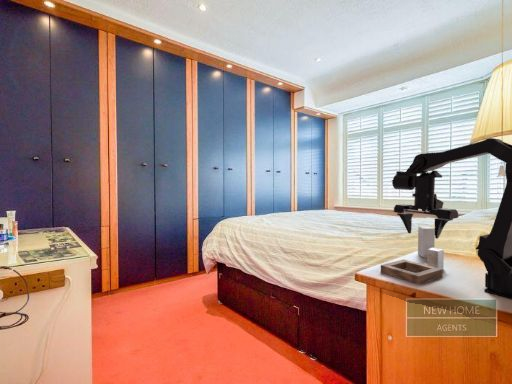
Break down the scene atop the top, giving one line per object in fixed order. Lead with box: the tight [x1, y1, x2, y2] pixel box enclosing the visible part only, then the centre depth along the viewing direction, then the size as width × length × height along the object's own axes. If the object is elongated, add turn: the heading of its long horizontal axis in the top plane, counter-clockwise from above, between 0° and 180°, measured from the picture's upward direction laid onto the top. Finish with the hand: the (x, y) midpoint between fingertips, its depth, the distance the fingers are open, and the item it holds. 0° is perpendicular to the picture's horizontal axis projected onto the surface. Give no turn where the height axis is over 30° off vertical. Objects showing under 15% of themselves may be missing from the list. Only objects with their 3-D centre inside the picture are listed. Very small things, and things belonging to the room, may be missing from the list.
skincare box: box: [417, 225, 436, 259], centre depth 113 cm, size 6×4×12 cm
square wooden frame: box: [380, 259, 443, 285], centre depth 91 cm, size 13×13×2 cm
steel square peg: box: [426, 247, 445, 271], centre depth 96 cm, size 4×4×7 cm
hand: (422, 235), depth 94 cm, fingers open, 9 cm apart
